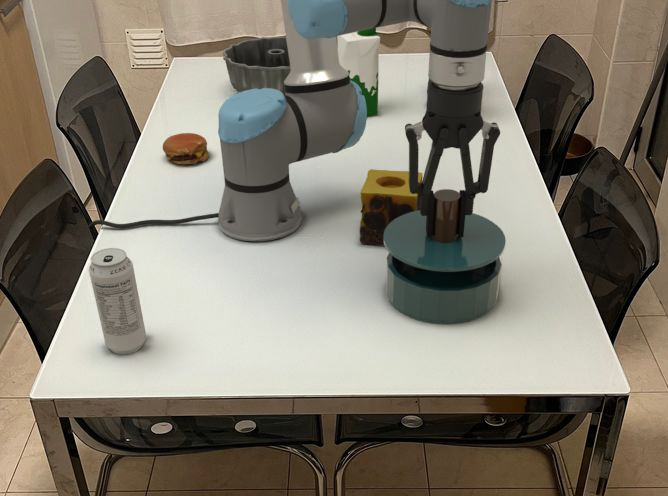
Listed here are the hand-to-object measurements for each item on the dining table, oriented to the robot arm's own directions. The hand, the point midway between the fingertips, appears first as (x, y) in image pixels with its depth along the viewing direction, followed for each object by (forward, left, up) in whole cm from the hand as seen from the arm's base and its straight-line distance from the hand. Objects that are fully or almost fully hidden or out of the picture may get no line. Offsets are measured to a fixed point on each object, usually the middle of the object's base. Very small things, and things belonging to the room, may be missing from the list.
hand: (444, 232), depth 127 cm
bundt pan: (-32, +96, -11) cm, 101 cm away
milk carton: (-12, +80, -11) cm, 81 cm away
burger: (-49, +55, -11) cm, 74 cm away
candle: (-7, +20, -11) cm, 24 cm away
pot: (0, 0, -11) cm, 11 cm away
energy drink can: (-48, -13, -11) cm, 51 cm away
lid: (0, 0, -1) cm, 1 cm away
